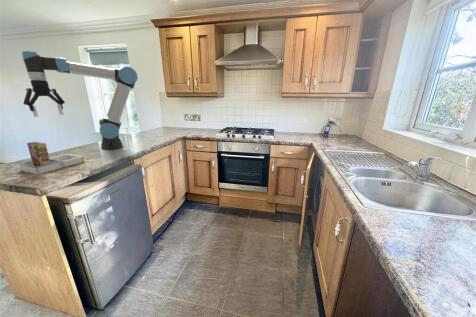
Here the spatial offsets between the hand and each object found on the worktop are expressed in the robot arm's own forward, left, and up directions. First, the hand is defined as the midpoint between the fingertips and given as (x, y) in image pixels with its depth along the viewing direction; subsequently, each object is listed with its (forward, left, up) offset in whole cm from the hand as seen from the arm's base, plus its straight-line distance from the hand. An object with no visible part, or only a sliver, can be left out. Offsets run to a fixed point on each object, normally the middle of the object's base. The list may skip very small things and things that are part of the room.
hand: (49, 115), depth 125 cm
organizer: (+12, +17, -28) cm, 35 cm away
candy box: (+18, +17, -28) cm, 38 cm away
